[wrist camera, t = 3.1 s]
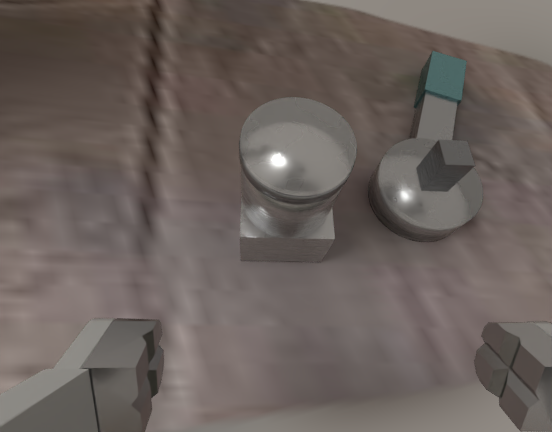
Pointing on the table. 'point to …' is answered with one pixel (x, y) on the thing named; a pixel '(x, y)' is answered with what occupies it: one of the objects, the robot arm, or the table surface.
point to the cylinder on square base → (292, 179)
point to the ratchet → (429, 163)
